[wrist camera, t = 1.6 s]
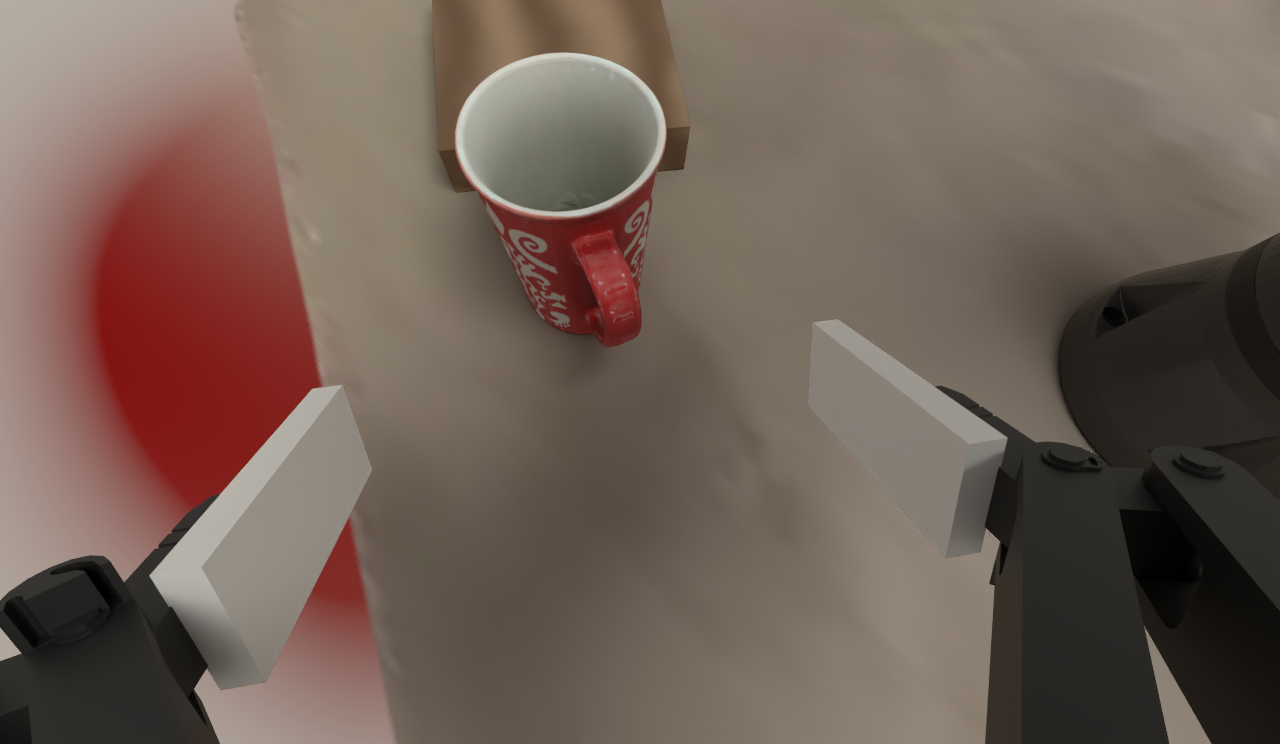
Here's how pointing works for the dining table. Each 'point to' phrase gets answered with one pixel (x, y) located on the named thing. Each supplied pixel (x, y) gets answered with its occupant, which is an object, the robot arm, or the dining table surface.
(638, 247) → the mug
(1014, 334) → the dining table surface
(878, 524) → the dining table surface
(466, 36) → the walnut stand
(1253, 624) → the robot arm
